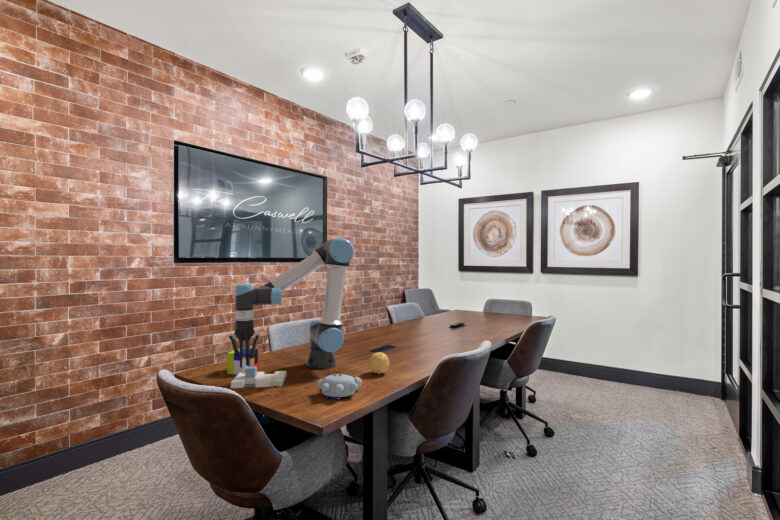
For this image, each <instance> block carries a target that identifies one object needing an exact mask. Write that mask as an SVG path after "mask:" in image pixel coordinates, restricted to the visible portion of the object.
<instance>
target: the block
mask: <svg viewBox="0 0 780 520" xmlns="http://www.w3.org/2000/svg"><path fill="white" fill-rule="evenodd" d="M257 372H258V369H257V366H248V367H247V368H246V369H245V378H255V377H256V376H257Z"/></svg>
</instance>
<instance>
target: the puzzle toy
mask: <svg viewBox="0 0 780 520" xmlns="http://www.w3.org/2000/svg"><path fill="white" fill-rule="evenodd" d="M251 349H252V348H250V353H251ZM258 349H259V348H255V352H254V355H253V356H252V357H250V364H249V365H248V366H257V370H258V369H259V350H258ZM238 350H239V354H240V347H238ZM226 354H227V355H226V357H227V358H226V359H227V364H226V365H227V369H226V372H227V373H226V374H227V375H237V374H239V373H240V372H242V366H240V358H238V357H235V353H234V350H231V351H229V352H227V353H226ZM244 357H246V347H244ZM248 366H247V367H248Z"/></svg>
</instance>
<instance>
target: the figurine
mask: <svg viewBox="0 0 780 520" xmlns="http://www.w3.org/2000/svg"><path fill="white" fill-rule="evenodd" d="M362 384H363V382H362V378H360V377H359V376H358V377H357V376H355V377H353V376H352V375H350V374H345V373H344V374H342V373H339V374H337V373H333V374H330V375H326V376H325V377H324V378H322V379H319V380H318V381H317V382H316V387H317V388H318V389H321V393H322V395H324V396H326V397H325V399H327V398H328V397H330V398H329V399H334V398H335V400H337V398H339V400H341V399H342V398H343V397H344V398H345V397H350V396H353V395H354V394H355V392H357V391H358V390H359V389H358V388H360V387H361V386H362Z"/></svg>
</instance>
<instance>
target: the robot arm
mask: <svg viewBox="0 0 780 520" xmlns="http://www.w3.org/2000/svg"><path fill="white" fill-rule="evenodd" d="M312 251H313V252H312V254H310V255H308V256H307V257H306V258H304V259H303V260H301V261H300V262H298V263H296V264H295V265H293V266H291V267H290V268H288V269H286V270H285V271H284V272H282V273H280V274H279V275H277V276H276V277H274V278H273V279H271V280H269V281H268V282H266V283H264V284H263V285H260V286H258V287H257V288H256V287H254V285H253V284H252V283H241V284H237V285H236V286H235V292H234V294H235V295H234V296H235V297H234V300H235V304H234V305H235V307H234V308H235V310H234V312H235V317H234V319H236V320H235V326H234V327H235V331H234V333H232V334H231V335H229V336H228V339H229V340H230V342H231V345H232V348H233V351H234V353H235V357H238V358H240V366H242V374H245V369H246V368H247V366H248V365H249V364H250V357H252V356H253V355H254V352H255V349H257V343H258V340H259V338H260V337H261V334H258V333H256V330H255V329H254V328H255V324H254V323H255V322H254V321H255V320H254V317H255V316H254V314H255V311H254V307H255V306H268V305H269V306H270V305H271V306H272V305H273V306H274V305H279V304H281V303H282V298H283V296H282V295H283V293H282V292H284V291H286V290H287V289H288V288H290V287H291V286H293V285H294V284H296V283H297V282H299V281H300V280H302V279H304V278H306V277H307V276H308V275H310V274H312V273H313V272H315V271H316V270H318V269H319V268H322V267H326V268H327V273H326V274H327V275H326V281H325V282H326V284H325V291H324V298H323V299H324V300H323V307H322V308H323V309H322V316H321V318H320V319H319V320H318V319H317V320H311V321H310V322H309V352H308V355H307V358H306V360H305V361H306V363H305V365H306V368H309V369H316V370H321V369H329V368H333V367H335V366H337V359H336V356H335V352H336V351H338V350H339V349H341V347H342V346H343V344H344V341H345V336H344V333H343V322H342V321H341V314H342V313H341V312H342V305H343V297H344V289H345V287H344V286H345V279H346V271H347V270H348V269H349V268H350V263H351V260H352V258H353V257H354V254H355V247H354V246H353V243H351V241H350V240H348V239H347V238H342V237H337V238H332V239H329V240H327V241H325V242H324V243H323V244H322V245H320V246H319V247H318V248H316V249H314V250H312ZM236 338H237V339H238V341H239V342H238V343H239V347H238V343H237V339H236ZM252 338H253V342H252V347H251V339H252ZM239 348H240V354H239V350H238V349H239ZM244 348H246V357H244ZM250 349H251V353H250Z"/></svg>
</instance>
